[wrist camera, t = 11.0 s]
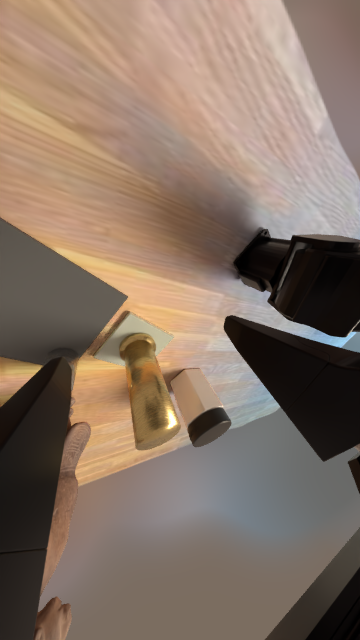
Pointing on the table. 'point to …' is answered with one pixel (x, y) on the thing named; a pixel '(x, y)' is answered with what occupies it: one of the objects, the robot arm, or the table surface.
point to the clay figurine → (61, 531)
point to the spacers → (68, 354)
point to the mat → (47, 300)
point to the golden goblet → (147, 393)
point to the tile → (126, 328)
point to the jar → (199, 407)
